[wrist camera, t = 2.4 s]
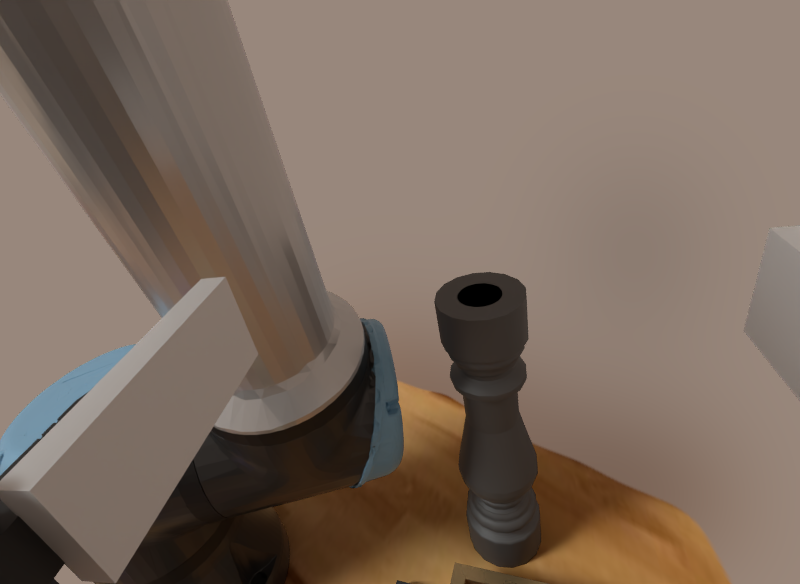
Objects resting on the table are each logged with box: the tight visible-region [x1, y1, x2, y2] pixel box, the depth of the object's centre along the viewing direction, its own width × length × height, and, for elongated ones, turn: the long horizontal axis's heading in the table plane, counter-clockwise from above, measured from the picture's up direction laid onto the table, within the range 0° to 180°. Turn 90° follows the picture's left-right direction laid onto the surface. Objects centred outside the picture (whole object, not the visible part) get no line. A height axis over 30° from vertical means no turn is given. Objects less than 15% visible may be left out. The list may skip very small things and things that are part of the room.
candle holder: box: [435, 272, 541, 568], centre depth 35 cm, size 6×6×25 cm
